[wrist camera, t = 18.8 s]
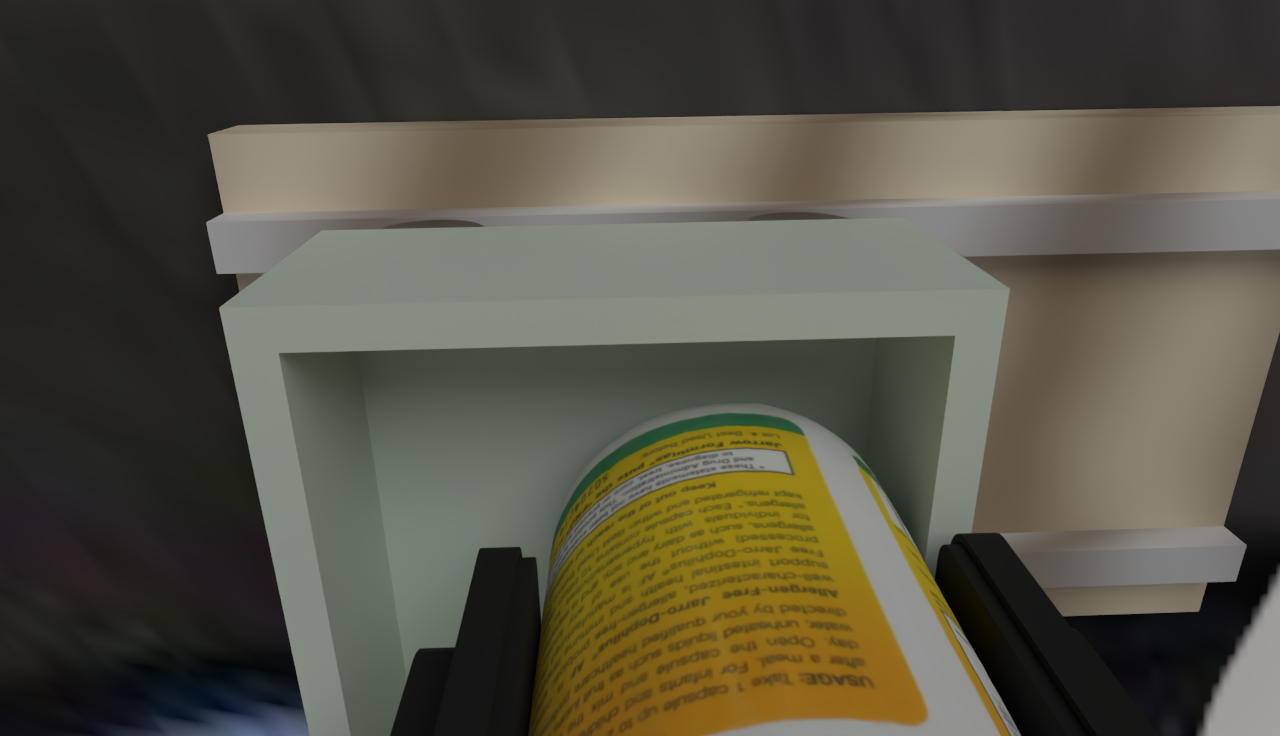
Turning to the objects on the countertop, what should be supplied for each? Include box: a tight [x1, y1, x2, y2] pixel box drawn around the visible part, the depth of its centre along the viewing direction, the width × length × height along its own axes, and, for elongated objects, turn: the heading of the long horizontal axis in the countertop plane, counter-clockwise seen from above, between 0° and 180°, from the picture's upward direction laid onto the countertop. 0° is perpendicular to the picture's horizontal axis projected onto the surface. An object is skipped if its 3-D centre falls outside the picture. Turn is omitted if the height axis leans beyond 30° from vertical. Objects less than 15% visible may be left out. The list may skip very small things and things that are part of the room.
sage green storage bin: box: [219, 212, 1010, 736], centre depth 15 cm, size 10×10×6 cm
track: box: [206, 106, 1280, 616], centre depth 19 cm, size 22×12×2 cm, turn 91°
